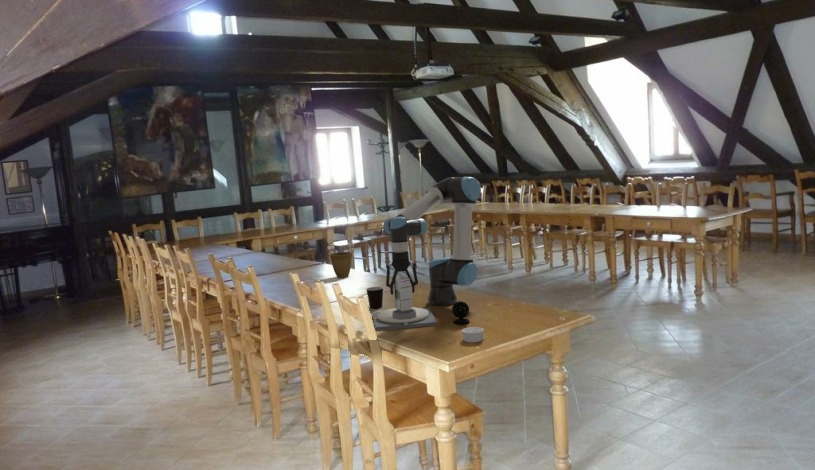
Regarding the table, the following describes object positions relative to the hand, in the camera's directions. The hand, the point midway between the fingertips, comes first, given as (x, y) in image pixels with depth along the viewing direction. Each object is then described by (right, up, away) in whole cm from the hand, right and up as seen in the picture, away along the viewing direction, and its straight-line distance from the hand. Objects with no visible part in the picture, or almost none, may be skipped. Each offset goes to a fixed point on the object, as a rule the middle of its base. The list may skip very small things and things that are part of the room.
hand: (403, 300), depth 289 cm
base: (0, -10, +8) cm, 13 cm away
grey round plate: (0, -8, +8) cm, 11 cm away
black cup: (-14, -7, +39) cm, 42 cm away
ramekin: (+29, -13, -30) cm, 44 cm away
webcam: (+26, -10, -4) cm, 28 cm away
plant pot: (-41, +2, +129) cm, 135 cm away
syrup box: (0, -4, +1) cm, 4 cm away
